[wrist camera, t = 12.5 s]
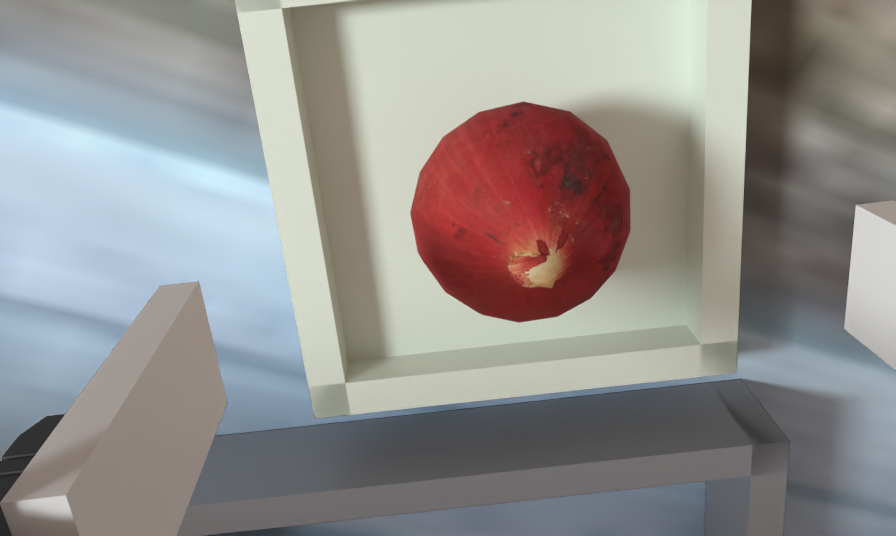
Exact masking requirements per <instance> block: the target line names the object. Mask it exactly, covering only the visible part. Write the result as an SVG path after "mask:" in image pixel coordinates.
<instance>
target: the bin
mask: <svg viewBox="0 0 896 536" xmlns="http://www.w3.org/2000/svg"><path fill="white" fill-rule="evenodd" d="M789 443H790V441H789V440H788V438H787V437H786V436H785V434H784V433H783V432H782V431H781V429H780V428H779V427H778V426H777V424H776V423H775V422H774V420H773V419H772V418H771V417H770V415H769V414H768V413H767V412H766V410H765V409H764V408H763V407H762V405H761V404H760V403H759V401H758V400H757V399H756V398H755V396H754V395H753V394H752V393H751V391H750V390H749V389H748V387H747V386H746V385H745V384H744V382H743V381H742V380H741V379H737V380H728V381H719V382H709V383H700V384H691V385H682V386H673V387H663V388H654V389H645V390H636V391H627V392H618V393H608V394H599V395H590V396H581V397H572V398H562V399H553V400H544V401H535V402H526V403H516V404H507V405H498V406H489V407H480V408H470V409H461V410H452V411H443V412H434V413H424V414H415V415H406V416H397V417H388V418H378V419H369V420H360V421H351V422H342V423H332V424H323V425H314V426H305V427H296V428H286V429H277V430H268V431H259V432H250V433H240V434H231V435H222V436H214V439H213V442H212V444H211V447H210V449H209V452H208V455H207V457H206V460H205V462H204V465H203V468H202V470H201V473H200V475H199V478H198V481H197V483H196V486H195V489H194V491H193V494H192V496H191V499H190V502H189V504H188V507H187V509H186V512H185V515H184V517H183V520H182V522H181V525H180V528H179V530H178V533H177V535H176V536H205V535H214V534H223V533H233V532H242V531H251V530H260V529H269V528H279V527H288V526H297V525H306V524H315V523H324V522H334V521H343V520H352V519H361V518H370V517H379V516H389V515H398V514H407V513H416V512H425V511H435V510H444V509H453V508H462V507H471V506H480V505H490V504H499V503H508V502H517V501H526V500H536V499H545V498H554V497H563V496H572V495H581V494H591V493H600V492H609V491H618V490H627V489H637V488H646V487H655V486H664V485H673V484H682V483H692V482H701V481H706V500H705V536H783V527H784V513H785V499H786V485H787V471H788V457H789Z"/></svg>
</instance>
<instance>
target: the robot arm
mask: <svg viewBox="0 0 896 536" xmlns="http://www.w3.org/2000/svg"><path fill="white" fill-rule="evenodd" d="M844 329H845V330H846V331H848V332H849V333H850V334H851V335H853V336H854V337H855V338H856V339H857V340H859V341H860V342H861V343H862V344H864V345H865V346H866V347H867V348H869V349H870V350H871V351H872V352H874V353H875V354H876V355H877V356H879V357H880V358H881V359H882V360H884V361H885V362H886V363H887V364H888V365H890V366H891V367H892V368H893V369H895V370H896V201H886V202H877V203H868V204H860V205H856V210H855V221H854V231H853V242H852V252H851V263H850V273H849V283H848V294H847V304H846V315H845V325H844ZM226 405H227V399H226V395H225V390H224V386H223V382H222V378H221V373H220V369H219V365H218V361H217V356H216V352H215V348H214V344H213V339H212V335H211V331H210V327H209V322H208V318H207V314H206V310H205V305H204V301H203V297H202V293H201V288H200V284H199V281H198V282H189V283H181V284H172V285H164V286H159V288H158V289H157V290H156V292H155V293H154V294H153V296H152V297H151V298H150V300H149V301H148V303H147V304H146V305H145V307H144V308H143V309H142V311H141V312H140V313H139V315H138V316H137V317H136V319H135V320H134V322H133V323H132V324H131V326H130V327H129V328H128V330H127V331H126V332H125V334H124V335H123V336H122V338H121V339H120V341H119V342H118V343H117V345H116V346H115V347H114V349H113V350H112V351H111V353H110V354H109V356H108V357H107V358H106V360H105V361H104V362H103V364H102V365H101V366H100V368H99V369H98V370H97V372H96V373H95V375H94V376H93V377H92V379H91V380H90V381H89V383H88V384H87V385H86V387H85V388H84V389H83V391H82V392H81V394H80V395H79V396H78V398H77V399H76V400H75V402H74V403H73V404H72V406H71V407H70V409H69V410H68V411H67V413H66V414H63V415H54V416H46V417H45V418H44V419H42V420H41V421H39V422H38V423H37V424H35V425H34V426H32V427H31V428H30V429H28V430H27V431H25V432H24V433H23V434H21V435H20V436H19V437H18V438H17V439H16V440H15V442H14V443H13V444H12V445H11V447H10V448H9V449H8V450H7V452H6V453H5V454H4V455H3V457H2V461H0V536H176V535H177V533H178V530H179V528H180V525H181V522H182V520H183V517H184V515H185V512H186V509H187V507H188V504H189V502H190V499H191V496H192V494H193V491H194V489H195V486H196V483H197V481H198V478H199V475H200V473H201V470H202V468H203V465H204V462H205V460H206V457H207V455H208V452H209V449H210V447H211V444H212V442H213V439H214V436H215V434H216V431H217V429H218V426H219V423H220V421H221V418H222V416H223V413H224V410H225V408H226Z"/></svg>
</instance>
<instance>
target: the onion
mask: <svg viewBox="0 0 896 536" xmlns="http://www.w3.org/2000/svg"><path fill="white" fill-rule="evenodd" d="M410 215H411V220H412V225H413V230H414V235H415V241H416V246H417V251H418V254H419V256H420V257H421V259H422V261H423V262H424V264H425V265H426V266H427V268H428V269H429V271H430V272H431V273H432V275H433V276H434V277H435V279H436V280H437V282H438V283H439V284H440V286H441V287H442V288H443V290H444V291H445V292H446V293H447V294H449V295H450V296H452V297H454V298H455V299H457V300H458V301H460V302H462V303H463V304H465V305H466V306H468V307H470V308H471V309H473V310H474V311H476V312H478V313H480V314H482V315H485V316H490V317H495V318H499V319H504V320H509V321H514V322H518V323H520V322H527V321H533V320H540V319H546V318H553V317H558V316H560V315H562V314H563V313H565V312H567V311H569V310H571V309H573V308H574V307H576V306H578V305H580V304H582V303H584V302H585V301H587V300H589V299H591V298H592V297H593V296H594V295H595V293H596V292H597V291H598V290H599V289H600V288H601V287H602V285H603V284H604V283H605V282H606V281H607V280H608V279H609V278H610V276H611V275H612V274H613V273H614V272H615V271H616V268H617V266H618V263H619V260H620V258H621V255H622V252H623V250H624V247H625V244H626V242H627V239H628V236H629V233H630V230H631V229H630V188H629V186H628V184H627V182H626V180H625V177H624V175H623V173H622V171H621V169H620V167H619V164H618V162H617V160H616V158H615V156H614V154H613V151H612V149H611V147H610V145H609V143H608V141H607V140H606V139H605V138H604V137H602V136H601V135H600V134H599V133H597V132H596V131H595V130H593V129H592V128H591V127H590V126H588V125H587V124H586V123H585V122H583V121H582V120H581V119H579V118H578V117H577V116H576V115H574V114H573V113H572V112H570V111H566V110H561V109H556V108H552V107H547V106H542V105H538V104H533V103H528V102H524V101H523V102H519V103H515V104H511V105H506V106H502V107H498V108H494V109H489V110H485V111H481V112H478V113H477V114H475V115H474V116H472V117H471V118H469V119H468V120H467V121H465V122H464V123H462V124H461V125H459V126H458V127H456V128H455V129H454V130H452V131H451V132H449V133H448V134H446V135H445V136H443V138H442V139H441V141H440V142H439V144H438V145H437V147H436V148H435V150H434V151H433V153H432V154H431V156H430V157H429V159H428V160H427V162H426V163H425V165H424V166H423V168H422V169H421V171H420V173H419V177H418V182H417V186H416V190H415V194H414V199H413V203H412V207H411V211H410Z"/></svg>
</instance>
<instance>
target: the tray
mask: <svg viewBox="0 0 896 536" xmlns="http://www.w3.org/2000/svg"><path fill="white" fill-rule="evenodd" d="M751 2H752V0H235V3H236V9H237V14H238V19H239V24H240V30H241V35H242V40H243V45H244V51H245V56H246V61H247V67H248V72H249V77H250V82H251V88H252V93H253V98H254V103H255V109H256V114H257V119H258V124H259V130H260V135H261V140H262V145H263V151H264V156H265V161H266V167H267V172H268V177H269V182H270V188H271V193H272V198H273V203H274V209H275V214H276V219H277V224H278V230H279V235H280V240H281V245H282V251H283V256H284V261H285V267H286V272H287V277H288V282H289V288H290V293H291V298H292V303H293V309H294V314H295V319H296V324H297V330H298V335H299V340H300V345H301V351H302V356H303V361H304V367H305V372H306V377H307V382H308V388H309V393H310V398H311V403H312V409H313V414H314V419H318V418H327V417H336V416H345V415H354V414H364V413H373V412H382V411H391V410H400V409H410V408H419V407H428V406H437V405H446V404H455V403H465V402H474V401H483V400H492V399H501V398H511V397H520V396H529V395H538V394H547V393H557V392H566V391H575V390H584V389H593V388H603V387H612V386H621V385H630V384H639V383H649V382H658V381H667V380H676V379H685V378H695V377H704V376H713V375H722V374H731V373H736V371H737V346H738V322H739V297H740V273H741V248H742V223H743V199H744V174H745V150H746V125H747V100H748V76H749V51H750V27H751ZM523 101H524V102H528V103H533V104H538V105H542V106H547V107H552V108H556V109H561V110H566V111H570V112H572V113H573V114H574V115H576V116H577V117H578V118H579V119H581V120H582V121H583V122H585V123H586V124H587V125H588V126H590V127H591V128H592V129H593V130H595V131H596V132H597V133H599V134H600V135H601V136H602V137H604V138H605V139H606V140H607V141H608V143H609V145H610V147H611V149H612V151H613V154H614V156H615V158H616V160H617V162H618V164H619V167H620V169H621V171H622V173H623V175H624V177H625V180H626V182H627V184H628V186H629V188H630V229H631V230H630V233H629V236H628V239H627V242H626V244H625V247H624V250H623V252H622V255H621V258H620V260H619V263H618V266H617V268H616V271H615V272H614V273H613V274H612V275H611V276H610V278H609V279H608V280H607V281H606V282H605V283H604V284H603V285H602V287H601V288H600V289H599V290H598V291H597V292H596V293H595V295H594V296H593V297H592V298H591V299H589V300H587V301H585V302H584V303H582V304H580V305H578V306H576V307H574V308H573V309H571V310H569V311H567V312H565V313H563V314H562V315H560V316H558V317H553V318H546V319H540V320H533V321H527V322H520V323H518V322H514V321H509V320H504V319H499V318H495V317H490V316H485V315H482V314H480V313H478V312H476V311H474V310H473V309H471V308H470V307H468V306H466V305H465V304H463V303H462V302H460V301H458V300H457V299H455V298H454V297H452V296H450V295H449V294H447V293H446V292H445V291H444V290H443V288H442V287H441V286H440V284H439V283H438V282H437V280H436V279H435V277H434V276H433V275H432V273H431V272H430V271H429V269H428V268H427V266H426V265H425V264H424V262H423V261H422V259H421V257H420V256H419V254H418V251H417V246H416V241H415V235H414V230H413V225H412V220H411V215H410V211H411V207H412V203H413V199H414V194H415V190H416V186H417V182H418V177H419V173H420V171H421V169H422V168H423V166H424V165H425V163H426V162H427V160H428V159H429V157H430V156H431V154H432V153H433V151H434V150H435V148H436V147H437V145H438V144H439V142H440V141H441V139H442V138H443V136H445V135H446V134H448V133H449V132H451V131H452V130H454V129H455V128H456V127H458V126H459V125H461V124H462V123H464V122H465V121H467V120H468V119H469V118H471V117H472V116H474V115H475V114H477V113H478V112H481V111H485V110H489V109H494V108H498V107H502V106H506V105H511V104H515V103H519V102H523Z"/></svg>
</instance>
